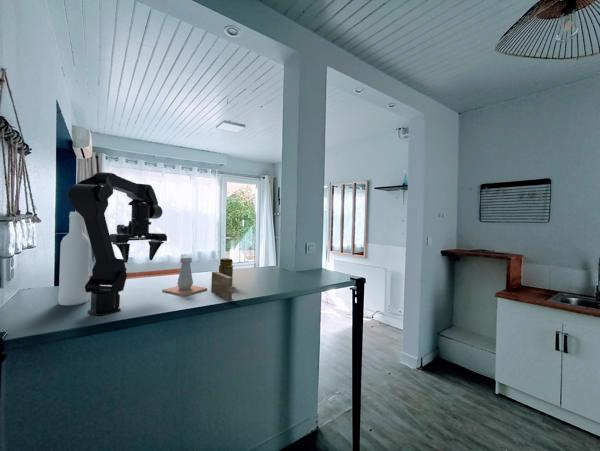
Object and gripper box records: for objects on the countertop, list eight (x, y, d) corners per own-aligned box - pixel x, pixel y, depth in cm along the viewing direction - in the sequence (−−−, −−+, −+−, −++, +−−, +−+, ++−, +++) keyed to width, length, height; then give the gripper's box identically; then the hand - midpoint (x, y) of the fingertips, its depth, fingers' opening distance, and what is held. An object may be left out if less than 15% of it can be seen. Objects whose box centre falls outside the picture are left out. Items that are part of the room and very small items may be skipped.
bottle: (64, 299, 96) (66, 211, 96) (91, 298, 99) (94, 212, 99) (53, 306, 89) (56, 211, 88) (84, 304, 92) (87, 212, 91)
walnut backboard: (226, 299, 105) (227, 278, 105) (211, 291, 116) (211, 271, 116) (231, 298, 107) (232, 277, 106) (215, 290, 117) (216, 271, 117)
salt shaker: (191, 290, 112) (192, 258, 112) (175, 290, 111) (177, 257, 111) (193, 287, 118) (194, 256, 118) (178, 287, 117) (180, 255, 116)
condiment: (233, 284, 131) (234, 258, 130) (232, 288, 122) (234, 260, 122) (216, 284, 129) (217, 257, 129) (215, 288, 121) (216, 260, 121)
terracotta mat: (184, 296, 107) (184, 294, 107) (162, 291, 112) (162, 289, 112) (207, 290, 117) (207, 288, 117) (186, 285, 123) (186, 284, 123)
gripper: (151, 218, 115) (149, 256, 115) (100, 217, 99) (98, 261, 99) (168, 219, 110) (167, 259, 110) (118, 218, 93) (116, 265, 94)
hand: (138, 261), depth 103 cm, fingers open, 9 cm apart
